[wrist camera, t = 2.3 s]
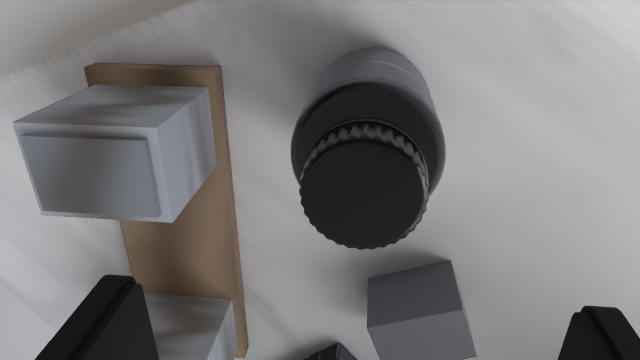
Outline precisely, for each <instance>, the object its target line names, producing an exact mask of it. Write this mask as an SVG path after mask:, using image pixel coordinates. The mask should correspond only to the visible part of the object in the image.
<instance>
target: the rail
mask: <svg viewBox="0 0 640 360" xmlns="http://www.w3.org/2000/svg"><path fill="white" fill-rule="evenodd" d="M84 70H85V74H86V78H87V83H88V87H89V88H86V89H84V90H82V91H80V92H78V93H76V94H73V95H71V96H69V97H67V98H65V99H62V100H60V101H58V102H56V103H54V104H51V105H49V106H47V107H45V108H43V109H40V110H38V111H36V112H34V113H32V114H29V115H27V116H25V117H23V118H21V119H19V120H16V121H14V122H12V123H13V126H14V129H15V132H16V136H17V139H18V142H19V145H20V148H21V151H22V154H23V158H24V161H25V164H26V167H27V170H28V173H29V176H30V179H31V183H32V186H33V189H34V192H35V195H36V198H37V201H38V205H39V208H40V211H41V214H42V215H50V216H67V217H84V218H100V219H117V220H119V221H120V225H121V229H122V234H123V238H124V242H125V247H126V251H127V255H128V260H129V264H130V268H131V272H132V277H133V278H134V279H135V281H136V283H140V284H141V285H142V288H143V291H144V296H145V300H146V304H147V309H148V313H149V317H150V322H151V326H152V330H153V335H154V339H155V343H156V347H157V352H158V356H159V360H234V357H237V358H245V356H246V353H247V349H248V337H247V327H246V317H245V307H244V296H243V286H242V276H241V266H240V256H239V245H238V235H237V225H236V215H235V205H234V194H233V184H232V174H231V164H230V154H229V143H228V133H227V123H226V113H225V102H224V92H223V82H222V72H221V66H193V65H151V64H109V63H94V64H92V65H89V66H86V67H84Z"/></svg>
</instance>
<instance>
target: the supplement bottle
mask: <svg viewBox="0 0 640 360" xmlns="http://www.w3.org/2000/svg"><path fill="white" fill-rule="evenodd" d="M445 156H446V150H445V140H444V135H443V131H442V127H441V124H440V121H439V118H438V115H437V113H436V110H435V107H434V104H433V101H432V98H431V95H430V92H429V89H428V87H427V84H426V82H425V80H424V78H423V76H422V75H421V73H420V71H419V70H418V69H417V68H416V67H415V66H414V65H413V64H412V63H411V62H410V61H409V60H408V59H406V58H405V57H403V56H402V55H400V54H398V53H396V52H393V51H390V50H387V49H382V48H363V49H359V50H355V51H352V52H349V53H347V54H345V55H343V56H342V57H340V58H339V59H337V60H336V61H335V62H334V63H333V64H331V65H330V66H329V68H328V69H327V70H326V71H325V72H324V74H323V75H322V77H321V78H320V80H319V82H318V84H317V85H316V87H315V89H314V91H313V93H312V95H311V96H310V98H309V100H308V102H307V104H306V106H305V108H304V109H303V111H302V113H301V115H300V117H299V119H298V121H297V123H296V126H295V129H294V132H293V136H292V141H291V163H292V168H293V171H294V175H295V177H296V179H297V182H298V184H299V185H300V189H299V193H300V196H301V205H302V206H303V208H304V214H305V215H306V216H307V217H308V218H309V221H310V224H312V225H313V226H315V227H316V229H317V231H318V232H319V233H322V234H324V236H325V237H326V238H327V239H329V240H333V241H334V242H335V243H337V244H339V245H345V246H346V247H348V248H357V249H360V250H362V249H366V248H367V249H375V248H377V247H386V246H387V245H389V244H394V243H396V242H397V241H398V240H399V239H403V238H405V237H406V236H407V234H408V233H409V232H411V231H413V230H414V229H415V227H416V225H417V224H418V223H419V222H420V221H421V219H422V215H423V214H424V213H425V211H426V203H427V202H428V200H429V197H430V195H431V194H432V193H433V191H434V190H435V188H436V186H437V185H438V183H439V181H440V178H441V176H442V172H443V169H444V164H445Z"/></svg>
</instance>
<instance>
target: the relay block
mask: <svg viewBox="0 0 640 360" xmlns="http://www.w3.org/2000/svg"><path fill="white" fill-rule="evenodd" d="M367 329H368V331H369V334H370V336H371V339H372V341H373V344H374V346H375V349H376V351H377V353H378V356H379V358H380V360H461V359H468V358H474V357H477V355H476V352H475V348H474V344H473V340H472V336H471V332H470V328H469V324H468V320H467V316H466V312H465V308H464V304H463V300H462V297H461V293H460V290H459V287H458V283H457V280H456V276H455V273H454V269H453V266H452V263H451V261H446V262H442V263H437V264H432V265H428V266H423V267H419V268H414V269H409V270H405V271H400V272H395V273H391V274H386V275H382V276H377V277H372V278H368V307H367Z"/></svg>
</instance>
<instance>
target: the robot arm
mask: <svg viewBox="0 0 640 360" xmlns="http://www.w3.org/2000/svg"><path fill="white" fill-rule="evenodd" d="M35 360H159V356H158V352H157V347H156V343H155V339H154V335H153V330H152V326H151V322H150V317H149V313H148V309H147V304H146V300H145V296H144V291H143V288H142V285H141V284H140V283H136V281H135V279H134V278H133V277H132V276H121V275H105V276H104V277H102V278H101V279H100V281H99V282H98V283H97V284H96V286H95V287H94V288H93V289H92V290H91V292H90V293H89V294H88V295H87V297H86V298H85V299H84V300H83V301H82V303H81V304H80V305H79V306H78V308H77V309H76V310H75V311H74V312H73V314H72V315H71V316H70V317H69V319H68V320H67V321H66V322H65V323H64V325H63V326H62V327H61V328H60V330H59V331H58V332H57V333H56V335H55V336H54V337H53V338H52V339H51V341H49V343H48V344H47V345H46V346H45V348H44V349H43V350H42V351H41V352H40V354H39V355H38V356H37V357H36V359H35ZM558 360H640V338H639V337H638V335H637V334H636V332H635V331H634V329H633V328H632V326H631V325H630V324H629V322H628V321H627V319H626V318H625V316H624V315H623V313H622V312H621V311H620V310H619V309H617V308H614V307H599V306H584V307H583V308H582V310H581V312H575V313H574V314H573V316H572V318H571V321H570V324H569V327H568V330H567V333H566V336H565V339H564V342H563V345H562V348H561V351H560V354H559V357H558Z"/></svg>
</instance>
